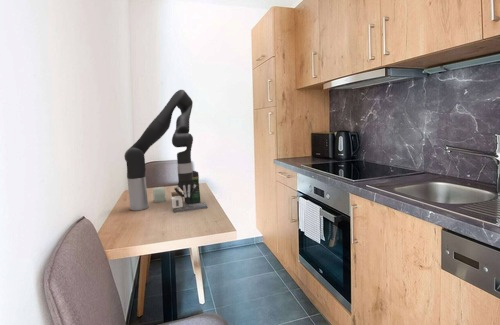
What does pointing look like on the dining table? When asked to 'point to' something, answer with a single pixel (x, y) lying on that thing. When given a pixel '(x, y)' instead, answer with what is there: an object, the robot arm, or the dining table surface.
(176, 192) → the walnut block
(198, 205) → the counting rail
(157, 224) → the dining table surface
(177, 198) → the counting knob
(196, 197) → the coffee jar
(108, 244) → the dining table surface
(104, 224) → the dining table surface
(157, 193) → the pale green rounded block
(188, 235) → the dining table surface
